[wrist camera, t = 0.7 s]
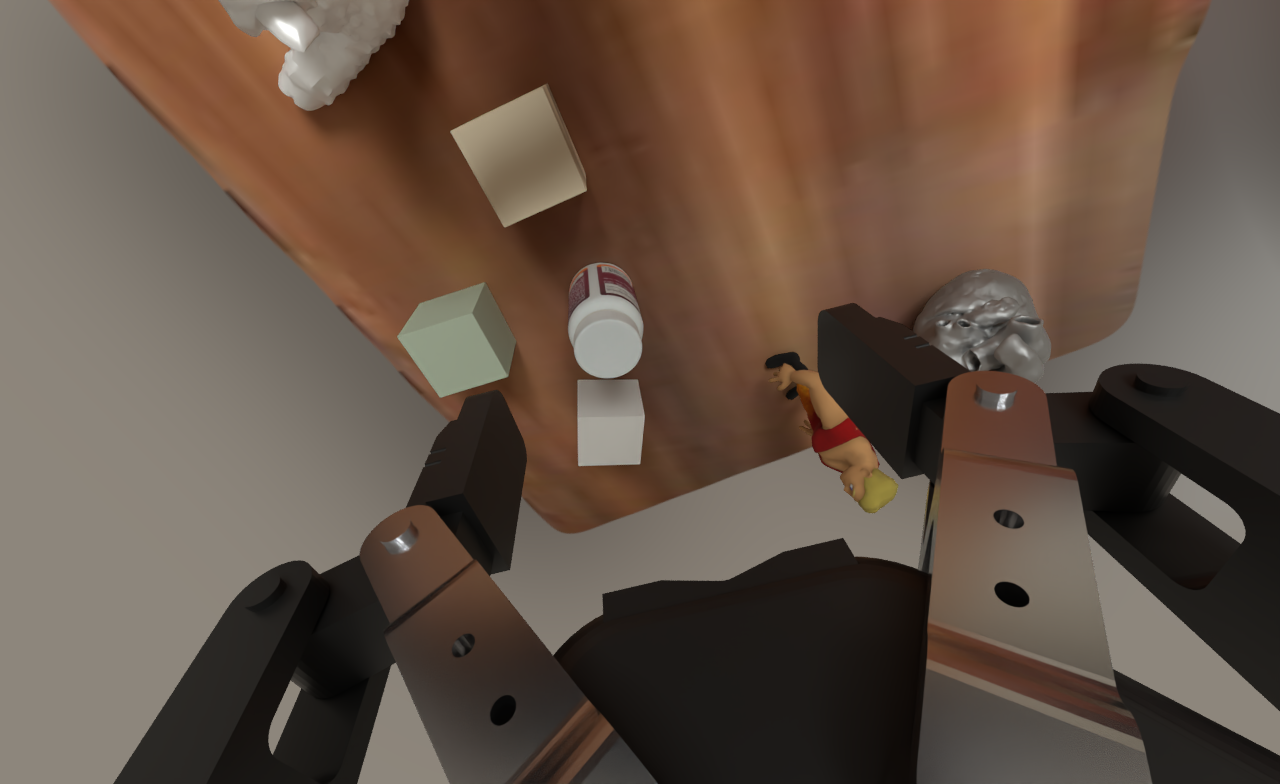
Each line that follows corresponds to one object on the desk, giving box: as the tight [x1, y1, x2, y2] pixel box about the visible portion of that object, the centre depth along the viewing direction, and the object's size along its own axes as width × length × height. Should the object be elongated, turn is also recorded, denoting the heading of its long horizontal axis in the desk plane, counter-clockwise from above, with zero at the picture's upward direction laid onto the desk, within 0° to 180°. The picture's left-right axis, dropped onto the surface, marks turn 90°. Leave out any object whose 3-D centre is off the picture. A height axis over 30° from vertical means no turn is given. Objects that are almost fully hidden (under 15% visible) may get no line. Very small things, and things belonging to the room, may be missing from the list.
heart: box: [913, 269, 1051, 383], centre depth 33 cm, size 10×10×12 cm
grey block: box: [578, 380, 645, 466], centre depth 37 cm, size 5×5×5 cm
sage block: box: [397, 282, 516, 398], centre depth 31 cm, size 5×5×5 cm
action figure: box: [766, 352, 898, 513], centre depth 33 cm, size 10×4×15 cm, turn 35°
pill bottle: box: [568, 263, 643, 378], centre depth 30 cm, size 5×5×8 cm
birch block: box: [450, 83, 587, 228], centre depth 25 cm, size 5×5×5 cm
